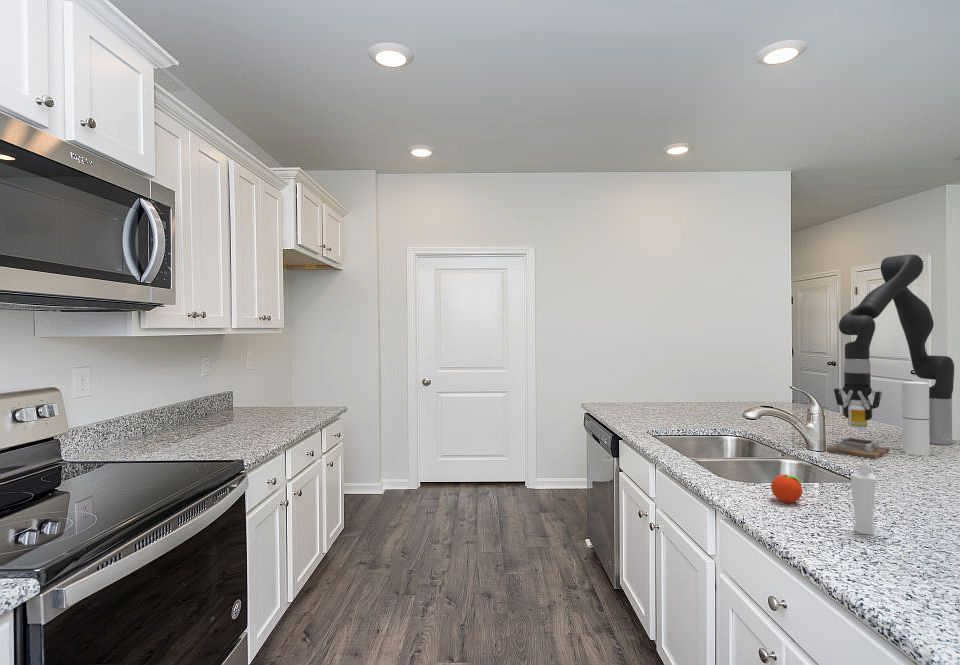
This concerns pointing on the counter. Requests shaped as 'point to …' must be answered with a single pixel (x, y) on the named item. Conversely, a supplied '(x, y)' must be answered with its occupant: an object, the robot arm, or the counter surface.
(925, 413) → the cylindrical container
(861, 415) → the supplement bottle
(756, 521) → the counter surface
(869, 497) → the perfume bottle
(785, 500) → the clementine
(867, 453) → the socket board
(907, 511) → the counter surface
